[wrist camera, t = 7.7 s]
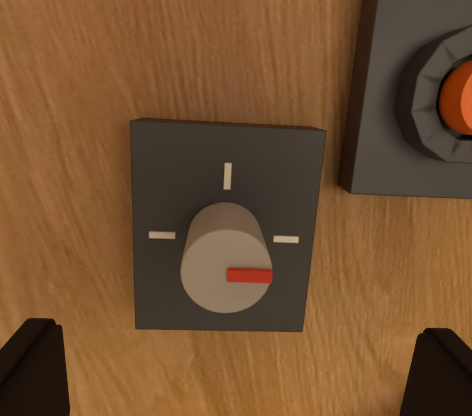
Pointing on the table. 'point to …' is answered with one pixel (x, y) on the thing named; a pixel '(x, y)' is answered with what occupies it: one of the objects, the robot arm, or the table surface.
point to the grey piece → (407, 101)
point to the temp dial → (225, 259)
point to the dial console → (216, 191)
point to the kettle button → (458, 99)
